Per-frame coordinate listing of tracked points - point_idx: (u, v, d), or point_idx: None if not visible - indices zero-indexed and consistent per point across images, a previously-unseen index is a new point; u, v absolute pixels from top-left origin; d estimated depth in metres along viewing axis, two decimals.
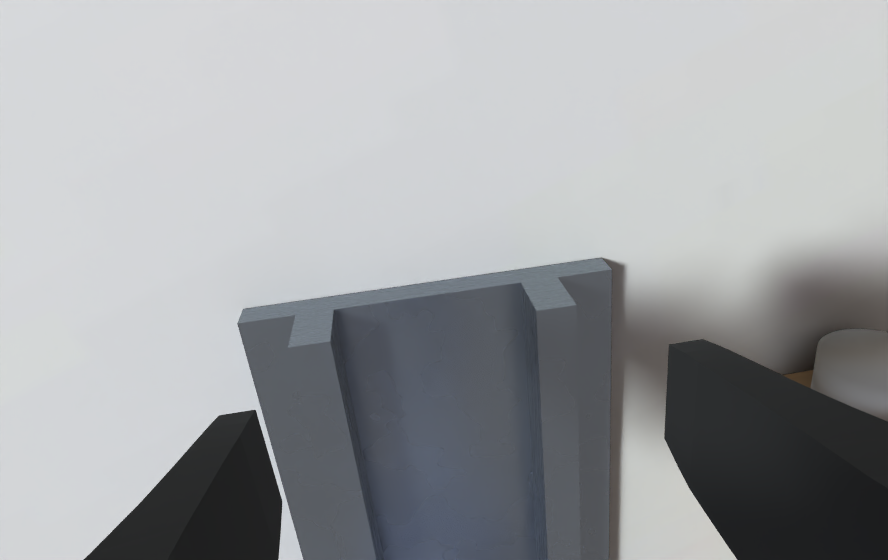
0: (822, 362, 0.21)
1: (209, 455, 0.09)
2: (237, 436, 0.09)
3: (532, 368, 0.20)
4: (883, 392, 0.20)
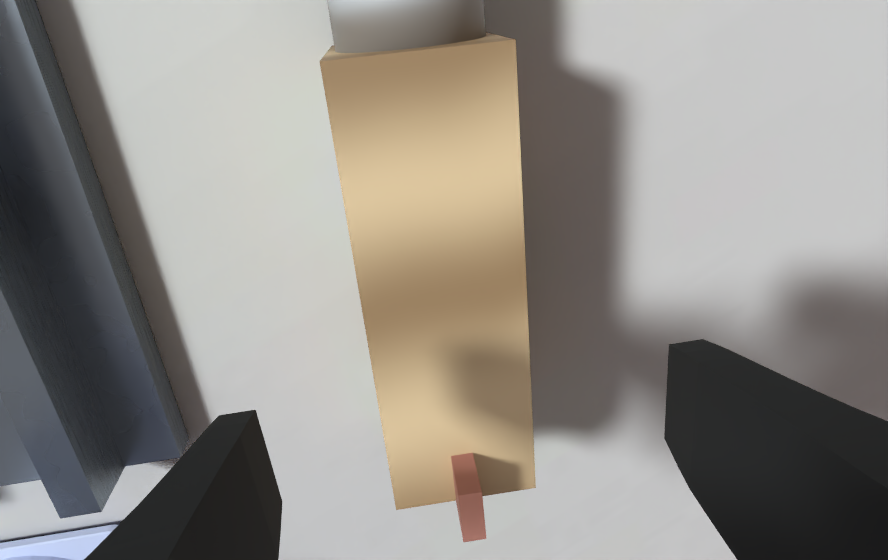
0: None
1: (209, 455, 0.09)
2: (237, 436, 0.09)
3: None
4: None
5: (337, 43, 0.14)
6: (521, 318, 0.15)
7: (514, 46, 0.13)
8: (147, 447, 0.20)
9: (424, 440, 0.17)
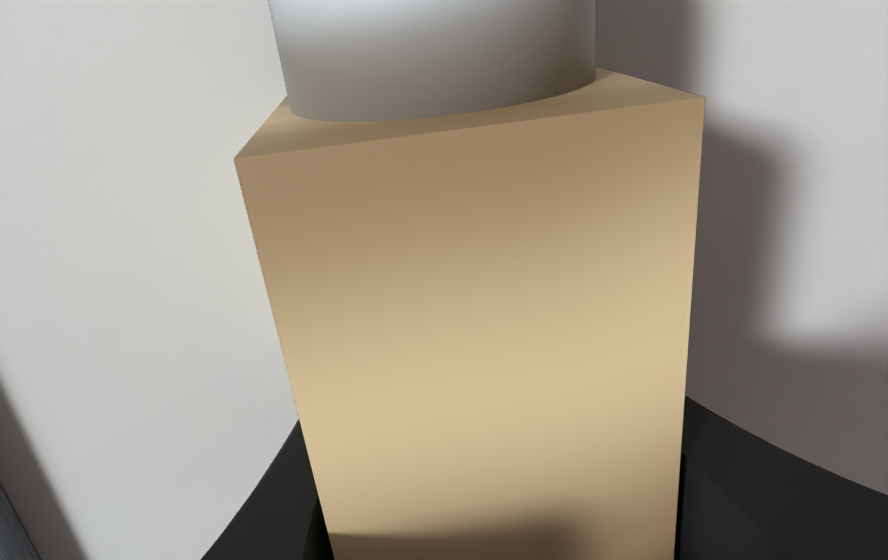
0: None
1: None
2: None
3: None
4: None
5: (292, 96, 0.07)
6: None
7: (696, 111, 0.05)
8: None
9: None
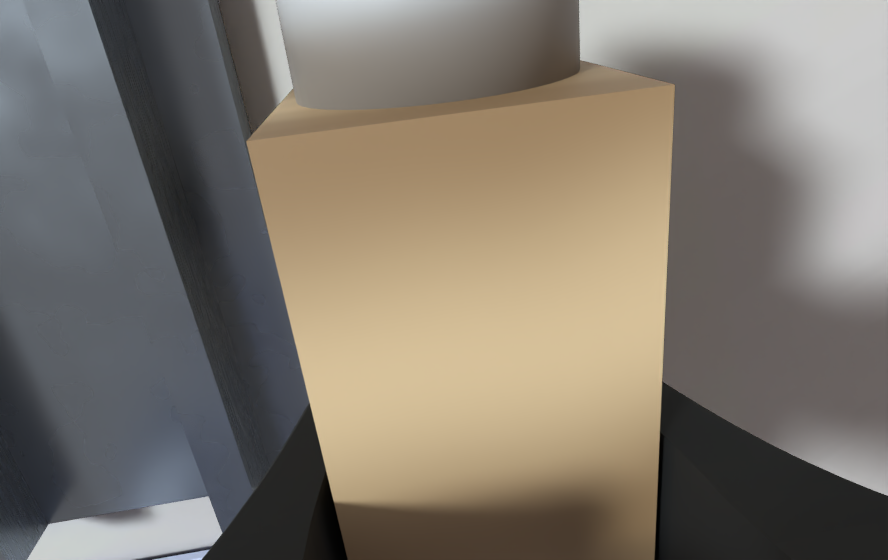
0: None
1: (317, 438, 0.09)
2: None
3: None
4: None
5: (297, 87, 0.07)
6: None
7: (667, 98, 0.06)
8: None
9: None
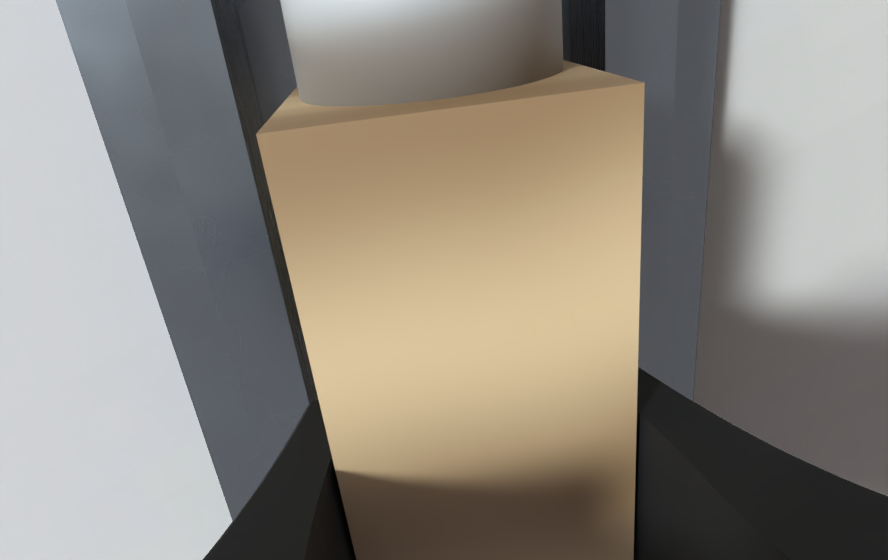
0: None
1: (318, 438, 0.09)
2: None
3: (586, 2, 0.11)
4: None
5: (300, 86, 0.08)
6: (622, 541, 0.09)
7: (639, 94, 0.07)
8: None
9: None
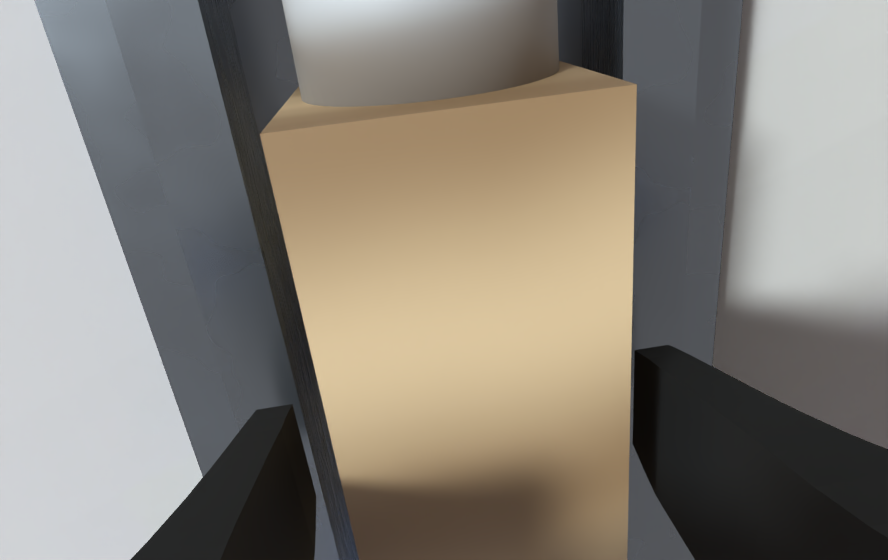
0: None
1: (252, 448, 0.09)
2: (278, 429, 0.09)
3: (601, 0, 0.10)
4: None
5: (302, 86, 0.08)
6: (617, 531, 0.09)
7: (632, 96, 0.07)
8: None
9: None
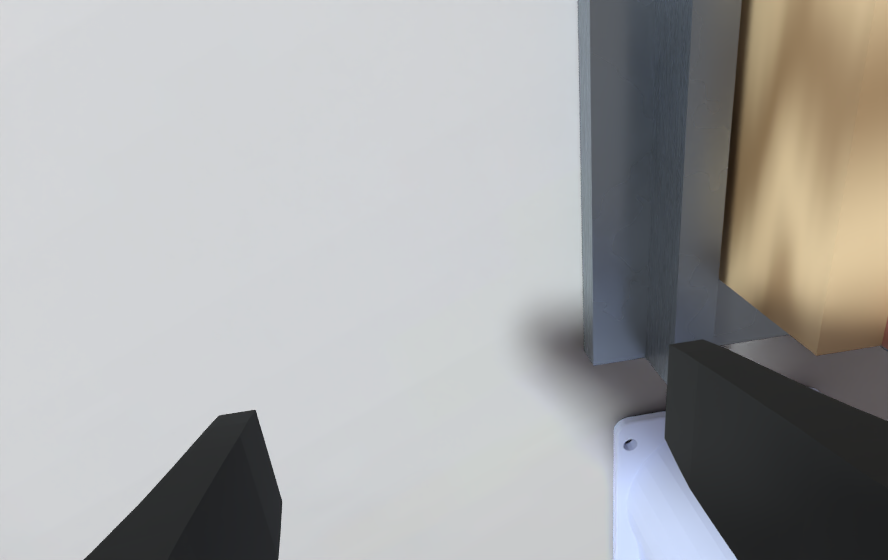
0: None
1: (209, 455, 0.09)
2: (237, 436, 0.09)
3: None
4: None
5: None
6: None
7: None
8: None
9: (872, 267, 0.14)
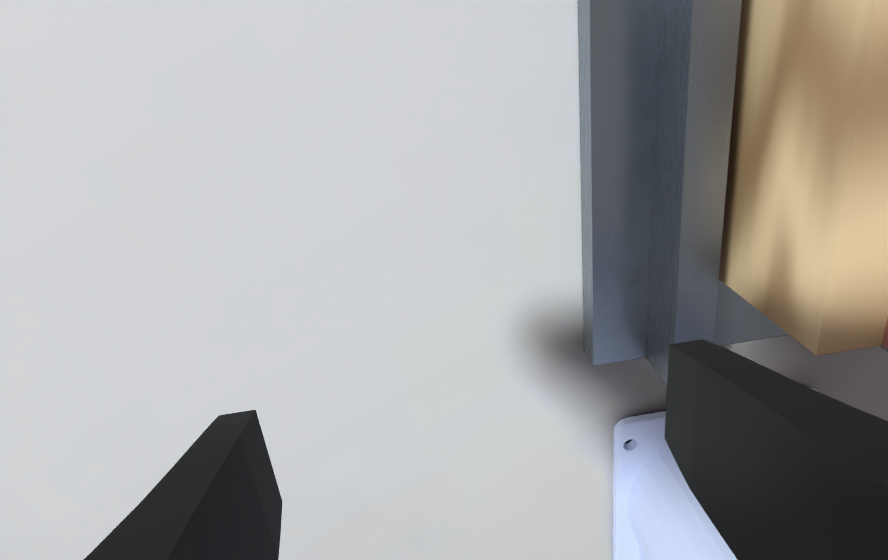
0: None
1: (209, 455, 0.09)
2: (237, 436, 0.09)
3: None
4: None
5: None
6: None
7: None
8: None
9: (872, 267, 0.14)
